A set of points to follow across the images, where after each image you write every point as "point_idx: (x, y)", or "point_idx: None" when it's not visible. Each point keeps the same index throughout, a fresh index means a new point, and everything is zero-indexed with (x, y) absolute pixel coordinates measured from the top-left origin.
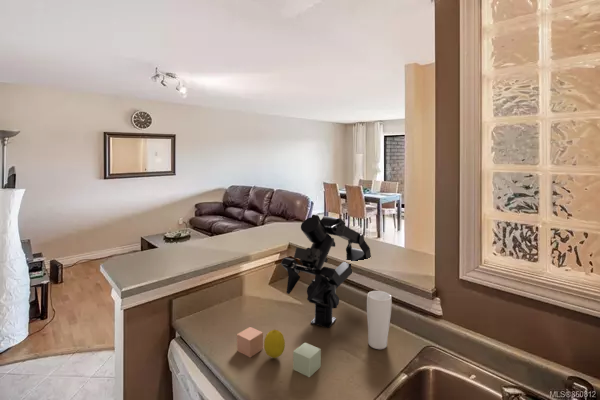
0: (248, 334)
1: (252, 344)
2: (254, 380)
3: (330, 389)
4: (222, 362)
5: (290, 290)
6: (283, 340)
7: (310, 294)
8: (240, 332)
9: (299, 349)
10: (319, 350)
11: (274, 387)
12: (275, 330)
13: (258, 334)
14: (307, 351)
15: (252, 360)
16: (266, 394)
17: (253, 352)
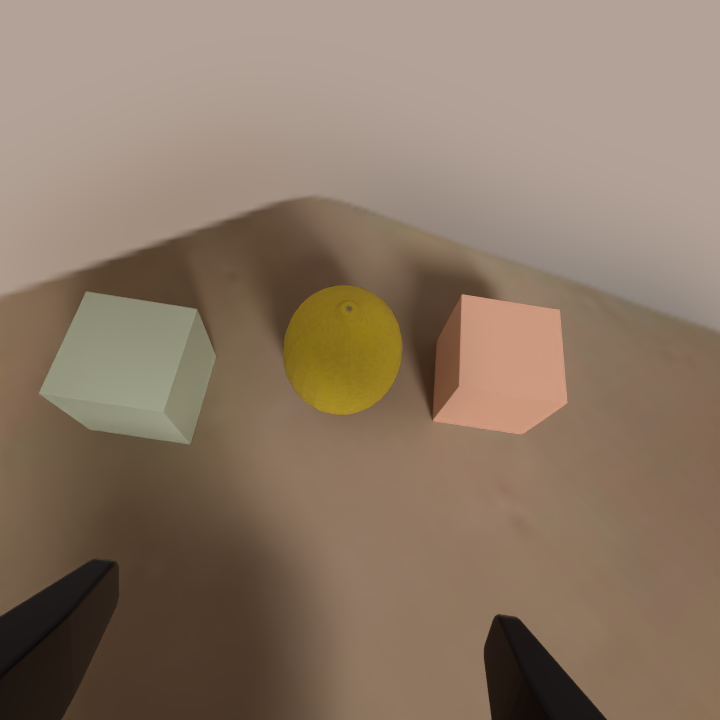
0: (509, 333)
1: (451, 326)
2: (328, 245)
3: (10, 317)
4: (505, 272)
5: (501, 709)
6: (287, 347)
7: (26, 609)
8: (559, 330)
9: (169, 335)
10: (46, 381)
11: (240, 244)
12: (341, 309)
13: (464, 358)
14: (116, 339)
15: (413, 329)
16: (249, 211)
17: (439, 354)
